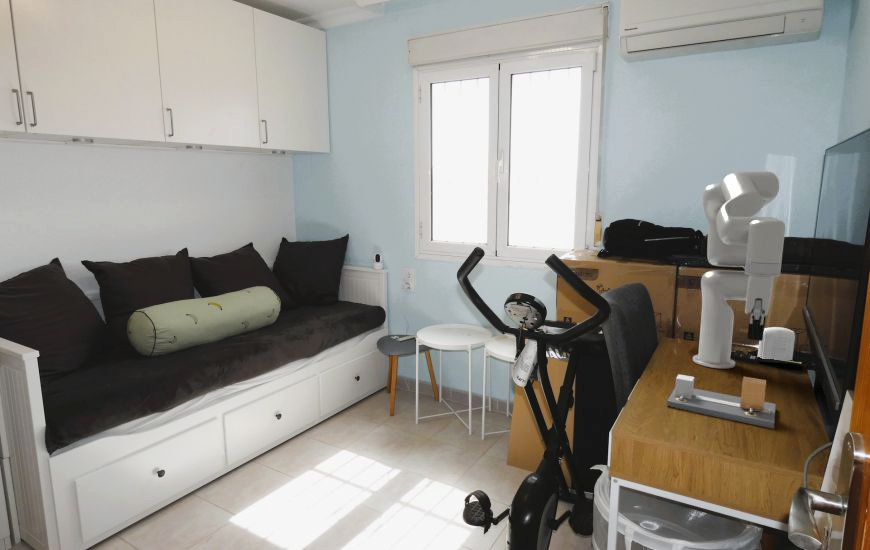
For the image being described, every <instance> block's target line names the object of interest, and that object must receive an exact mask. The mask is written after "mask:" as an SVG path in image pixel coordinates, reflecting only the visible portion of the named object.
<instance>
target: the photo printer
mask: <svg viewBox="0 0 870 550" xmlns="http://www.w3.org/2000/svg"><path fill="white" fill-rule="evenodd" d="M795 340H796V333H795V331H793V330H791V329H789V328H786V327H779V326H772V327H764V331H763V340H762V341H758V350H757V357H760V358H762V359H774V360H792V361H793V356H794V347H795Z"/></svg>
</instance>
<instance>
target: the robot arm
mask: <svg viewBox="0 0 870 550" xmlns="http://www.w3.org/2000/svg"><path fill="white" fill-rule="evenodd" d="M779 190H780V181H779V178H778V176H777V175H776V174H775V173H774V172H772V171H767V170H766V171H764V170H763V171H756V170H755V171H735V172H732V173H729V174H728V175H726V176H725V177H724V179H723V180H722V181H721V182H718V183H712V184H709V185H707V186H706V187H705V188H704V189H703V193H702V207H703V212H704V214H705V217H706V220H707V225H708V227H707V248H706V249H707V250H706V251H707V252H706V256H707V262H708V263H709V264H710V265H712V266H717V267H732V268H735V267H736V268H743V269H744V270H725V269H719V270H718V269H715V270H709V271H706V272H705V273H704V274H702V276H701V278H700V289H701V315H700V317H701V318H700V331H699V340H698V343H699V344H698V353H697V354H696V355H695V354H694V355H693V356H692V361H693V362H694V363H695V364H698V365H699V366H702V367H708V368H712V369H723V370H724V369H732V368H735V366H736V361H735V360H733V359H731V353H732V344H733V342H732V341H733V333H734V332H733V331H734V322H735V319H734V318H735V313H734V310H733V308H732V307H731V306H730V305H729V303H728V302H727V301H734V300H735V301H745V306H744V313H745V314H746V315H748V314H750V319H749V323H748V328H747V336H746V337H747V339H748V340H752V341H757V342H759V341H762V340H763V331H764V329H765V326H766V323H765V322H766V316H768V314H769V311H770V306H771V301H772V298H773V289H774V282H775V281H774V279H775V278H779V277H781V270H782V260H783V252H784V244H785V243H784V241H785V233H786V223H785V222H784V221H783V220H781V219H778V218H776V217H772V216H771V217H770V216H769V217H768V216H755V215H757V214H758V213H759V212H760V211H761V210H762V209H763V208H764V207H765V206H767V205H768V204H770V203H771V202H772V201H774V200H775V198H776V197H777V196H778V193H779Z"/></svg>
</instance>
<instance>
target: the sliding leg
mask: <svg viewBox="0 0 870 550" xmlns="http://www.w3.org/2000/svg"><path fill="white" fill-rule="evenodd" d="M741 383H742V384H741V395H740V397H741V403H740V407H743V408H748V409H750V412H751V413H752V411H753V410H758V411H763V408H764V402H765V397H766V386H767V380H766V379H759V378H755V377H749V376H743V378H742V382H741Z"/></svg>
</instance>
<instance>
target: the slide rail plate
mask: <svg viewBox="0 0 870 550" xmlns="http://www.w3.org/2000/svg"><path fill="white" fill-rule="evenodd" d="M694 386H695V377H694V376H690V375H684V374H677V376H676V377H675V385H674V389H672V393H671V394H670V396H669V397H668V399H667V402H666V407H668V406H671V407H670V408H673V407H675V408H674V409H678V408H679V409H678V410H682V409H683V411H687V410H688V411H687V412H693V413H697V414H698V413H699V414H702V415H707V416H712V417H717V418H719V419H720V418H721V419H726V420H730V421H733V422H734V421H736V422H739V423H740V422H741V423H743V424H744V423H745V424H749V425H754V426H759V427H764V428H768V429H773V430H774V429H775V421H776V420H775V419H776V403H772V402H768V401H764V408H763V411H758V410H753V411H752V413H751V412H750V409H748V408H743V407H740V403H741V396H736V395H731V394H725V393H719V392H714V391H709V390H705V389H704V390H703V389H699V388H694Z"/></svg>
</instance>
